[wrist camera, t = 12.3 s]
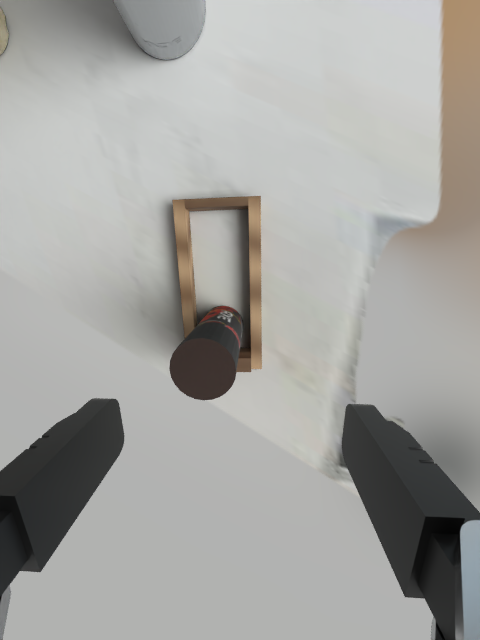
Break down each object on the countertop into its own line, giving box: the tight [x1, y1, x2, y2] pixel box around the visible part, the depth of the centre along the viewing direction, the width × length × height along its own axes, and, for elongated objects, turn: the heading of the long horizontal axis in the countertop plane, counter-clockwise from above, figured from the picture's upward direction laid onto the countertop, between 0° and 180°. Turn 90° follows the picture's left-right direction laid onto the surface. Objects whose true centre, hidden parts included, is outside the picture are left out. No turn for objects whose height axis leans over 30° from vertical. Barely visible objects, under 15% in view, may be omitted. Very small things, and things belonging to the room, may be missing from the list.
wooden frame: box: [172, 196, 262, 372], centre depth 32 cm, size 23×11×4 cm, turn 2°
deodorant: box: [170, 306, 243, 400], centre depth 28 cm, size 6×6×15 cm
